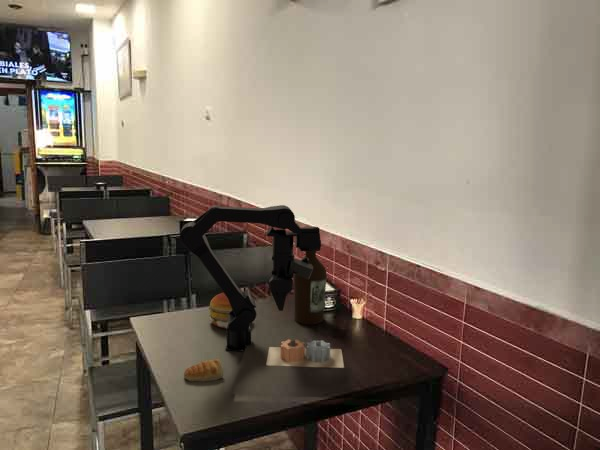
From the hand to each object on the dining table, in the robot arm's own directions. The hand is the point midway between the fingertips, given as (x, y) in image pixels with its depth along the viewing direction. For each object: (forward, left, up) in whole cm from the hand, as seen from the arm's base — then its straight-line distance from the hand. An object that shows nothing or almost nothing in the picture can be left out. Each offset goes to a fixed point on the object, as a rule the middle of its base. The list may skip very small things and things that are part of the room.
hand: (281, 304), depth 141 cm
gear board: (+7, -10, -12) cm, 17 cm away
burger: (-17, +15, -12) cm, 26 cm away
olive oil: (+8, +20, -12) cm, 25 cm away
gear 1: (+4, -10, -11) cm, 15 cm away
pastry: (-18, -20, -12) cm, 29 cm away
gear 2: (+10, -10, -11) cm, 18 cm away
